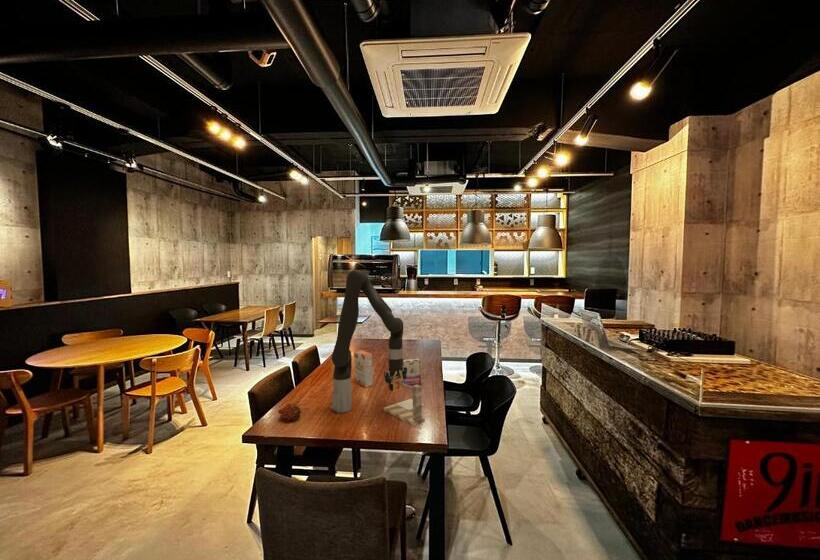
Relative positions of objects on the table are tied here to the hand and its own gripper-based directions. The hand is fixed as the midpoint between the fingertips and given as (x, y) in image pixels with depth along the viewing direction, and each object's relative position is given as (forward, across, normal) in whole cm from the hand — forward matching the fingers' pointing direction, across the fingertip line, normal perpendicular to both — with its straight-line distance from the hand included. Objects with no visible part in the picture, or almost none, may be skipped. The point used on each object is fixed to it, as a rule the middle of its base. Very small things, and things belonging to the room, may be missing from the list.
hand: (396, 389), depth 178 cm
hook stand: (+12, 0, +6) cm, 14 cm away
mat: (+12, -11, -2) cm, 17 cm away
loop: (+1, 0, 0) cm, 1 cm away
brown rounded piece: (+13, +45, -29) cm, 55 cm away
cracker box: (+13, -11, -48) cm, 51 cm away
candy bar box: (+12, -33, -26) cm, 44 cm away
